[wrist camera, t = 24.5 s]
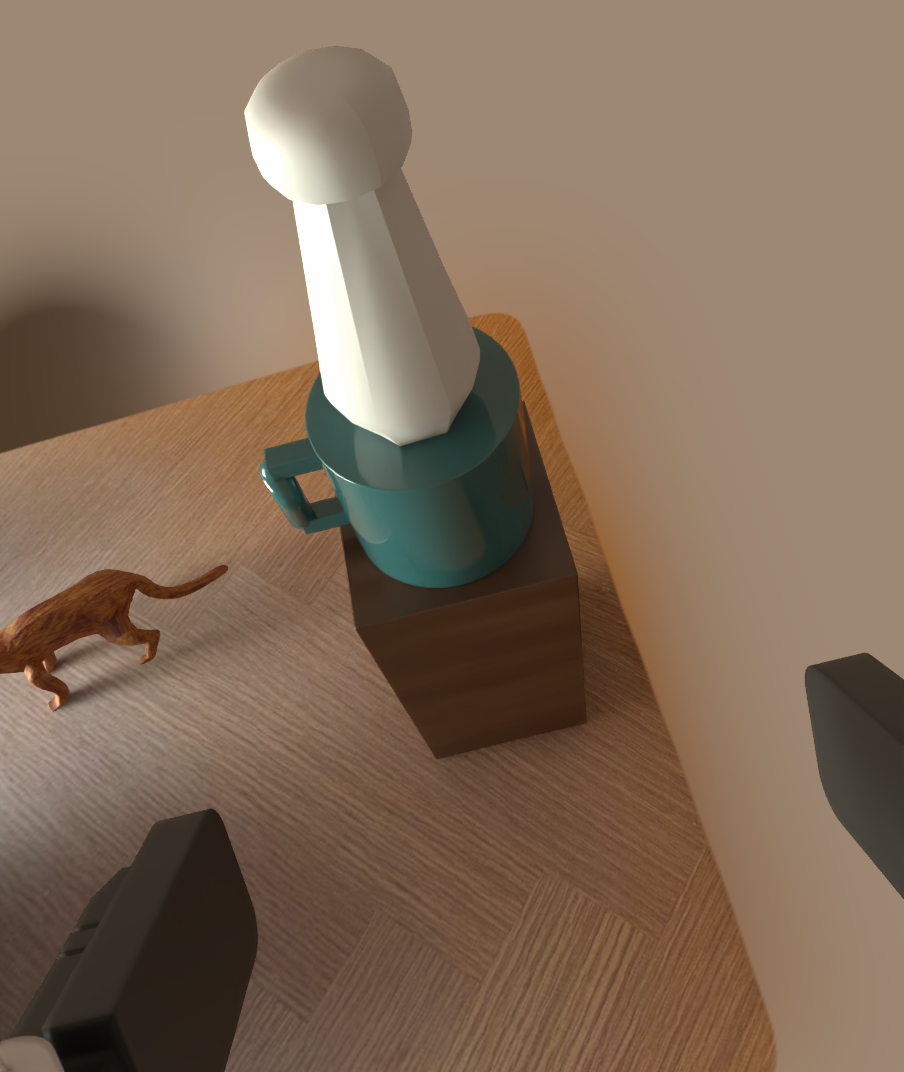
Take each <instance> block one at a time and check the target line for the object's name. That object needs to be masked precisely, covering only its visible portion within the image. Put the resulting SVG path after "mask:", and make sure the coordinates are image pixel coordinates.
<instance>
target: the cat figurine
mask: <svg viewBox="0 0 904 1072" xmlns="http://www.w3.org/2000/svg"><path fill="white" fill-rule="evenodd" d="M227 570H228V566H226V565H221V566H218V567H216V568H214V569H212V570H211V571H209V572H207V573H206V574H204V575H202V576H201V577H199V578H197V579H195V580H193V581H190V582H188V583H185V584H182V585H179V586H175V587H162V586H159V585H157V584H155V583H153V582H152V581H151V580H149V579H148V578H146V577H145V576H142V575H139V574H134V573H130V572H124V571H119V570H111V569H107V570H106V569H105V570H101V571H97V572H94V573H92V574H90V575H88V576H87V577H85V578H84V579H82V580H81V581H79V582H78V583H76V584H75V585H73V586H71V587H70V588H68V589H66V590H65V591H63V592H61V593H59V594H57V595H55V596H54V597H52V598H50V599H48V600H46V601H44V602H42V603H40V604H38V605H37V606H35V607H33V608H31V609H30V610H28V611H26V612H25V613H23V614H22V615H20V616H19V617H18V618H17V619H15V620H14V621H13V622H12V623H11V624H10V625H9V626H8V627H6V628H4V629H3V630H1V631H0V674H3V673H16V672H24V673H25V674H26V676H27V678H28V681H29V682H30V683H31V684H33V685H34V686H36V687H38V688H40V689H43V690H47V691H51V692H53V693H55V698H54V699H53V700H51V701H50V702H49V703H48V708H49V710H50V711H56V710H57V709H59V708H60V707H61V706H62V705H63V704H64V703H65V702H66V701H67V700H68V698H69V695H70V691H69V689H68V686H67V685H66V684H65V683H64V682H63V681H61V680H60V679H58V678H56V677H54V676H52V675H50V674H49V672H50V671H51V670H52V669H53V668H54V666H55V664H56V662H57V659H56V656H55V654H54V652H53V651H55V650H57V649H59V648H61V647H63V646H65V645H67V644H69V643H71V642H73V641H75V640H77V639H79V638H82V637H86V636H90V635H93V634H99V635H100V636H102V637H104V638H105V639H106V640H107V641H108V642H111V643H114V644H118V645H126V646H132V645H138V644H144V643H145V645H146V654H145V655H143V656H142V657H141V659H140V662H139V663H140V664H144V663H146V662H148V661H150V660H152V659H153V658H154V657H155V655H156V651H157V646H158V643H159V639H160V631H159V630H143V629H137V628H136V627H135V626H134V625H133V624H132V623H131V621H130V619H129V617H128V613H129V608H130V603H131V602H132V600H133V598H132V597H133V595H134V593H135V589H138V590H139V591H140V592H142V593H143V594H145V595H147V596H149V597H153V598H158V599H175V598H180V597H183V596H186V595H189V594H191V593H193V592H195V591H197V590H199V589H201V588H203V587H204V586H206V585H208V584H209V583H211V582H212V581H214V580H215V579H217V578H219V577H220V576H222V575H223V574H224V573H226V571H227Z"/></svg>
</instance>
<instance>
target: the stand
mask: <svg viewBox="0 0 904 1072" xmlns="http://www.w3.org/2000/svg"><path fill="white" fill-rule="evenodd" d="M522 406H523V413H524V421H525V428H526V436H527V443H528V451H529V458H530V466H531V473H532V481H533V488H534V498H535V508H534V516H533V520H532V524H531V527H530V529H529V532H528V534H527V536H526V538H525V540H524V541H523V543H522V545H521V546H520V547H519V549H518V550H517V551H516V552H515V554H514V555H513V556H512V557H511V558H510V559H509V560H508V561H507V562H506V563H505V564H503V565H502V566H501V567H499V568H498V569H497V570H495V571H494V572H492V573H490V574H489V575H487V576H485V577H483V578H481V579H478V580H476V581H474V582H471V583H468V584H464V585H461V586H455V587H450V588H424V587H418V586H413V585H410V584H407V583H403V582H401V581H399V580H397V579H394V578H392V577H391V576H389V575H388V574H386V573H384V572H383V571H382V570H381V569H379V568H378V567H377V566H376V565H375V564H374V563H373V562H372V561H371V559H370V558H369V557H368V556H367V554H366V552H365V551H364V549H363V547H362V545H361V543H360V541H359V539H358V537H357V536H356V534H355V532H354V530H353V528H352V526H351V524H347V525H343V526H340V533H341V540H342V546H343V553H344V560H345V567H346V573H347V580H348V587H349V594H350V601H351V607H352V614H353V621H354V628H355V630H356V631H357V633H358V635H359V636H360V638H361V639H362V641H363V643H364V644H365V646H366V647H367V649H368V651H369V652H370V654H371V655H372V657H373V659H374V660H375V662H376V663H377V665H378V667H379V668H380V670H381V671H382V673H383V675H384V676H385V678H386V679H387V681H388V683H389V684H390V686H391V687H392V689H393V691H394V692H395V694H396V695H397V697H398V699H399V700H400V702H401V703H402V705H403V707H404V708H405V710H406V711H407V713H408V715H409V716H410V718H411V719H412V721H413V723H414V724H415V726H416V727H417V729H418V731H419V732H420V734H421V735H422V737H423V739H424V740H425V742H426V743H427V745H428V747H429V748H430V750H431V751H432V753H433V755H434V756H435V758H436V759H438V758H442V757H447V756H451V755H455V754H459V753H463V752H467V751H471V750H476V749H480V748H484V747H488V746H492V745H496V744H501V743H505V742H509V741H513V740H517V739H521V738H526V737H530V736H534V735H538V734H542V733H546V732H550V731H555V730H559V729H563V728H567V727H571V726H575V725H580V724H584V723H586V722H587V720H586V704H585V688H584V671H583V655H582V639H581V622H580V606H579V589H578V573H577V570H576V567H575V564H574V560H573V557H572V554H571V551H570V547H569V544H568V541H567V538H566V535H565V531H564V528H563V525H562V522H561V518H560V515H559V512H558V509H557V506H556V502H555V499H554V496H553V493H552V489H551V486H550V483H549V480H548V477H547V473H546V470H545V467H544V464H543V460H542V457H541V454H540V451H539V448H538V444H537V441H536V438H535V435H534V431H533V428H532V425H531V422H530V419H529V415H528V412H527V409H526V406H525V402H524V401H522ZM335 497H337V496H336V494H335Z"/></svg>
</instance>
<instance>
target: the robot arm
mask: <svg viewBox="0 0 904 1072" xmlns="http://www.w3.org/2000/svg"><path fill="white" fill-rule="evenodd" d="M805 687H806V693H807V700H808V706H809V712H810V718H811V725H812V731H813V737H814V744H815V749H816V756H817V762H818V768H819V774H820V778H821V782H822V785H823V788H824V791H825V794H826V797H827V799H828V801H829V803H830V806H831V807H832V809H833V811H834V813H835V815H836V816H837V818H838V819H839V821H840V822H841V823H842V825H843V826H844V827H845V828H846V830H847V831H848V832H849V833H850V834H851V835H852V837H853V838H854V839H855V840H856V841H857V843H858V844H859V845H860V846H861V848H862V849H863V850H864V851H865V853H866V854H867V855H868V856H869V857H870V859H871V860H872V861H873V862H874V863H875V865H876V866H877V867H878V868H879V870H880V871H881V872H882V873H883V874H884V875H885V877H886V878H887V879H888V880H889V882H890V883H891V884H892V885H893V887H894V888H895V889H896V890H897V891H898V893H899V894H900V895H901V896H902V898H903V899H904V680H903V679H902V678H901V677H900V676H898V675H897V674H896V673H894V672H893V671H891V670H890V669H889V668H888V667H886V666H884V664H882V663H881V662H880V661H878V660H877V659H875V658H874V657H873V656H871V655H870V654H868V653H861V654H857V655H853V656H849V657H845V658H841V659H836V660H833V661H828V662H824V663H820V664H816V665H811V666H809V667H807V669H806V672H805ZM74 930H75V932H74V933H71V934H70V935H69V937H68V939H67V940H66V942H65V944H64V945H63V947H62V949H61V951H60V952H59V954H60V958H59V959H55V961H54V962H53V964H52V966H51V968H50V969H49V971H48V973H47V974H46V976H45V978H44V980H43V981H42V983H41V985H40V986H39V988H38V990H37V991H36V993H35V995H34V997H33V998H32V1000H31V1002H30V1003H29V1005H28V1007H27V1008H26V1010H25V1012H24V1014H23V1015H22V1017H21V1019H20V1020H19V1022H18V1024H17V1025H16V1027H15V1029H14V1031H13V1032H12V1034H11V1036H10V1037H9V1039H7V1040H3V1041H1V1042H0V1072H225V1068H226V1064H227V1061H228V1057H229V1053H230V1050H231V1046H232V1042H233V1039H234V1035H235V1031H236V1028H237V1024H238V1020H239V1017H240V1013H241V1009H242V1006H243V1002H244V998H245V995H246V991H247V988H248V984H249V980H250V977H251V973H252V969H253V966H254V962H255V958H256V954H257V944H258V933H257V922H256V916H255V911H254V907H253V904H252V901H251V898H250V895H249V893H248V890H247V887H246V884H245V881H244V879H243V876H242V873H241V870H240V867H239V865H238V862H237V859H236V856H235V853H234V851H233V848H232V845H231V842H230V839H229V837H228V834H227V831H226V828H225V826H224V823H223V821H222V819H221V817H220V815H219V814H218V813H217V812H216V811H215V810H213V809H207V810H203V811H199V812H194V813H190V814H186V815H182V816H178V817H174V818H169V819H165V820H161V821H158V822H156V823H155V824H154V825H153V827H152V828H151V830H150V832H149V834H148V835H147V837H146V839H145V841H144V843H143V845H142V846H141V848H140V850H139V852H138V854H137V855H136V857H135V859H134V861H133V863H132V865H131V866H129V867H125V868H122V869H121V870H120V871H118V872H117V873H116V874H115V875H114V876H113V877H112V878H111V879H110V880H109V881H108V882H107V883H106V884H105V885H104V886H103V887H102V888H101V889H100V890H99V891H98V892H97V893H96V894H95V895H94V896H93V897H92V898H91V900H90V901H89V903H88V905H87V906H86V908H85V910H84V911H83V913H82V915H81V917H80V918H79V920H78V922H77V923H76V925H75V927H74Z"/></svg>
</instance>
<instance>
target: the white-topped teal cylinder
mask: <svg viewBox="0 0 904 1072" xmlns="http://www.w3.org/2000/svg"><path fill="white" fill-rule="evenodd" d="M472 328H473V331H474V334H475V337H476V340H477V343H478V345H479V348H480V362H479V366H478V370H477V374H476V378H475V382H474V386H473V388H472V390H471V392H470V393H469V395H468V397H467V398H466V400H465V402H464V404H463V405H462V407H461V409H460V410H459V412H458V414H457V415H456V417H455V419H454V421H453V423H452V424H451V426H450V428H449V430H448V432H447V433H445V434H441V435H438V436H434V437H431V438H428V439H424V440H421V441H417V442H414V443H410V444H407V445H403V446H398V445H397V444H395V443H393V442H391V441H389V440H388V439H386V438H384V437H382V436H380V435H378V434H376V433H374V432H371V431H369V430H367V429H365V428H362V427H360V426H358V425H356V424H353V423H352V422H351V421H350V420H348V419H347V418H346V417H345V416H344V415H343V414H342V413H341V412H340V411H339V410H338V409H337V408H336V407H334V406H333V405H332V404H331V403H330V401H329V400H328V399H327V397H326V396H325V394H324V389H323V383H322V377H321V372H320V373H319V375H318V376H317V378H316V380H315V381H314V384H313V386H312V388H311V391H310V393H309V397H308V401H307V405H306V414H305V421H306V430H307V435H308V438H306V439H302V440H298V441H294V442H290V443H286V444H282V445H278V446H274V447H270V448H266V449H264V455H265V459H264V460H263V461H262V462H261V464H260V468H259V473H260V476H261V478H262V480H263V481H264V483H265V484H266V486H267V488H268V489H269V491H270V492H271V494H272V496H273V497H274V499H275V500H276V502H277V504H278V505H279V507H280V508H281V510H282V512H283V513H284V515H285V516H286V518H287V520H288V521H289V523H290V524H291V525H292V526H293V527H295V528H297V529H303V530H304V532H305V533H306V534H311V533H315V532H319V531H323V530H327V529H331V528H335V527H339V526H343V525H347V524H351V526H352V528H353V530H354V532H355V534H356V536H357V537H358V539H359V541H360V543H361V545H362V547H363V549H364V551H365V552H366V554H367V556H368V557H369V558H370V559H371V561H372V562H373V563H374V564H375V565H376V566H377V567H378V568H379V569H381V570H382V571H383V572H384V573H386V574H388V575H389V576H391V577H392V578H394V579H397V580H399V581H401V582H403V583H407V584H410V585H413V586H418V587H424V588H450V587H455V586H461V585H464V584H468V583H471V582H474V581H476V580H478V579H481V578H483V577H485V576H487V575H489V574H490V573H492V572H494V571H495V570H497V569H498V568H499V567H501V566H502V565H503V564H505V563H506V562H507V561H508V560H509V559H510V558H511V557H512V556H513V555H514V554H515V552H516V551H517V550H518V549H519V547H520V546H521V545H522V543H523V541H524V540H525V538H526V536H527V534H528V532H529V529H530V527H531V524H532V520H533V516H534V508H535V498H534V488H533V481H532V473H531V466H530V458H529V451H528V443H527V436H526V428H525V421H524V413H523V406H522V398H521V391H520V383H519V379H518V374H517V371H516V369H515V366H514V364H513V362H512V360H511V359H510V357H509V355H508V354H507V352H506V351H505V350H504V349H503V348H502V347H501V345H500V344H499V343H497V342H496V341H495V340H494V339H493V338H492V337H490V336H489V335H487V334H486V333H484V332H483V331H481V330H479V329H477V328H475V327H472ZM321 469H323V470H324V472H325V474H326V476H327V478H328V480H329V482H330V484H331V486H332V488H333V490H334V492H335V494H336V496H337V497H333V498H329V499H325V500H321V501H317V502H313V503H309V501H308V499H307V498H306V496H305V494H304V492H303V490H302V489H301V487H300V485H299V483H298V482H297V480H296V478H295V476H297V475H301V474H305V473H309V472H313V471H317V470H321Z"/></svg>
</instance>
